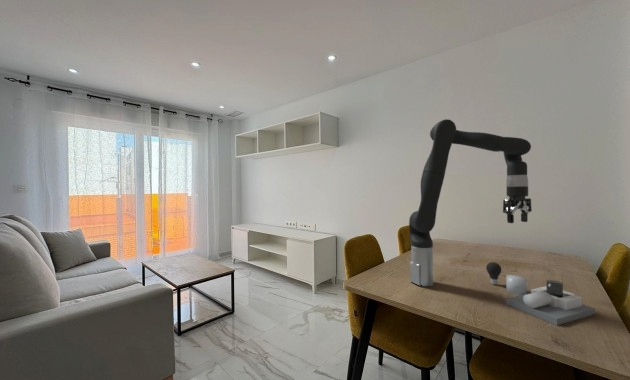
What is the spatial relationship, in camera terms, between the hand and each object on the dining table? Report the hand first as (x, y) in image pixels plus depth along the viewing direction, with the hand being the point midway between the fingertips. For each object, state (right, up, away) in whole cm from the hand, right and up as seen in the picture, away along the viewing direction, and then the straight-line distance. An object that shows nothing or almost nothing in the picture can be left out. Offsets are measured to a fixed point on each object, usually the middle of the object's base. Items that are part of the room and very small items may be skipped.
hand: (517, 222), depth 113 cm
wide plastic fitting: (-5, -28, -6) cm, 29 cm away
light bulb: (-9, -29, +3) cm, 30 cm away
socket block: (-5, -29, -20) cm, 35 cm away
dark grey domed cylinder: (-2, -26, -19) cm, 33 cm away
